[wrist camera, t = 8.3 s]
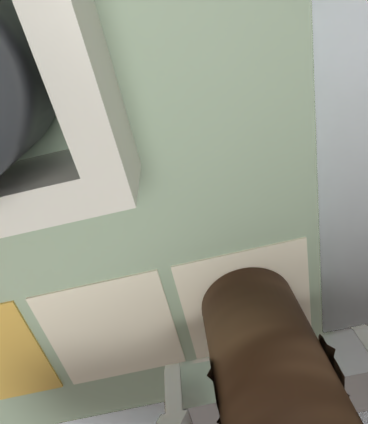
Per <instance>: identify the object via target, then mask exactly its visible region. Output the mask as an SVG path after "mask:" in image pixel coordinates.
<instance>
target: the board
mask: <svg viewBox="0 0 368 424" xmlns="http://www.w3.org/2000/svg"><path fill="white" fill-rule="evenodd" d="M94 2H95V6H96V9H97V13H98V16H99V20H100V23H101V27H102V30H103V33H104V37H105V40H106V44H107V47H108V51H109V54H110V58H111V61H112V65H113V68H114V72H115V75H116V79H117V82H118V86H119V89H120V92H121V96H122V99H123V103H124V106H125V110H126V113H127V117H128V120H129V124H130V127H131V131H132V134H133V138H134V141H135V145H136V148H137V151H138V155H139V158H140V162H141V172H140V180H139V189H138V197H137V206H136V208H133V209H129V210H125V211H120V212H116V213H111V214H107V215H102V216H98V217H93V218H89V219H85V220H80V221H76V222H71V223H67V224H62V225H58V226H53V227H49V228H45V229H40V230H36V231H31V232H27V233H22V234H18V235H13V236H9V237H4V238H0V424H57V423H62V422H67V421H72V420H77V419H82V418H87V417H92V416H97V415H102V414H107V413H111V412H116V411H121V410H126V409H131V408H136V407H141V406H146V405H151V404H156V403H161V402H165V385H164V369H165V365H170V364H175V363H180V362H186V361H191V360H197V359H203V358H208V357H209V351H208V345H207V339H206V333H205V327H204V322H203V316H202V301H203V298H204V295H205V293H206V292H207V290H208V289H209V287H210V286H211V285H212V284H213V283H214V282H215V281H216V280H218V279H219V278H220V277H222V276H224V275H225V274H227V273H229V272H232V271H235V270H238V269H242V268H249V267H258V268H265V269H269V270H272V271H274V272H276V273H278V274H279V275H281V276H282V277H283V278H284V279H285V280H286V281H287V282H288V284H289V286H290V288H291V289H292V291H293V293H294V295H295V297H296V299H297V301H298V303H299V304H300V306H301V308H302V310H303V312H304V314H305V316H306V318H307V319H308V321H309V323H310V325H311V327H312V329H313V331H314V333H315V334H316V336H317V338H318V336H319V334H321V333H323V327H322V297H321V268H320V238H319V208H318V179H317V149H316V119H315V90H314V60H313V30H312V1H311V0H94ZM65 149H69V148H68V145H67V143H66V140H65V137H64V135H63V132H62V130H61V127H60V124H59V122H58V119H57V117H56V114H55V116H54V119H53V121H52V123H51V125H50V127H49V129H48V130H47V132H46V133H45V134H44V135H43V137H42V138H41V139H40V140H39V141H38V142H37V143H36V144H34V145H33V146H32V147H31V148H30V149H29V150H28V151H27V152H26V153H25V154H23V155H22V156H21V157H20V158H19V159H18V160H22V159H27V158H31V157H35V156H39V155H44V154H48V153H52V152H57V151H61V150H65ZM18 160H17V161H18Z"/></svg>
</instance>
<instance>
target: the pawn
mask: <svg viewBox="0 0 368 424" xmlns="http://www.w3.org/2000/svg"><path fill="white" fill-rule="evenodd" d="M202 316H203V322H204V327H205V333H206V339H207V345H208V351H209V357H210V360H211V365H212V371H213V376H214V386H215V391H216V394H217V401H218V407H219V412H220V420H221V424H363V422H362V421H361V419H360V417H359V415H358V413H357V411H356V409H355V407H354V406H353V404H352V402H351V400H350V398H349V396H348V394H347V392H346V391H345V389H344V387H343V385H342V383H341V381H340V379H339V377H338V376H337V374H336V372H335V370H334V368H333V366H332V364H331V362H330V361H329V359H328V357H327V355H326V353H325V351H324V349H323V348H322V346H321V344H320V342H319V340H318V338H317V336H316V334H315V333H314V331H313V329H312V327H311V325H310V323H309V321H308V319H307V318H306V316H305V314H304V312H303V310H302V308H301V306H300V304H299V303H298V301H297V299H296V297H295V295H294V293H293V291H292V289H291V288H290V286H289V284H288V282H287V281H286V280H285V279H284V278H283V277H282V276H281V275H279V274H278V273H276V272H274V271H272V270H269V269H265V268H258V267H249V268H242V269H238V270H235V271H232V272H229V273H227V274H225V275H224V276H222V277H220V278H219V279H218V280H216V281H215V282H214V283H213V284H212V285H211V286H210V287H209V289H208V290H207V292H206V293H205V295H204V298H203V301H202Z"/></svg>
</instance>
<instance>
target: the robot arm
mask: <svg viewBox="0 0 368 424" xmlns="http://www.w3.org/2000/svg"><path fill="white" fill-rule="evenodd" d="M318 340H319V342H320V344H321V346H322V348H323V349H324V351H325V353H326V355H327V357H328V359H329V361H330V362H331V364H332V366H333V368H334V370H335V372H336V374H337V376H338V377H339V379H340V381H341V383H342V385H343V387H344V389H345V391H346V392H347V394H348V396H349V398H350V400H351V402H352V404H353V406H354V407H355V409H356V411H357V413H359V412H365V411H368V325H366V324H364V325H359V326H355V327H350V328H349V327H348V328H344V329H339V330H335V331H330V332H326V333H321V334H319V336H318ZM164 385H165V414H162V415H160V417H159V419H158V421H157V422H156V424H221V420H220V412H219V407H218V401H217V394H216V391H215V386H214V376H213V371H212V365H211V360H210V357H208V358H203V359H197V360H191V361H186V362H180V363H175V364H170V365H165V369H164Z"/></svg>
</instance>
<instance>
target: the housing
mask: <svg viewBox="0 0 368 424" xmlns="http://www.w3.org/2000/svg"><path fill="white" fill-rule="evenodd" d="M12 2H13V5H14V7H15V10H16V12H17V15H18V18H19V20H20V23H21V25H22V28H23V31H24V33H25V36H26V38H27V41H28V44H29V46H30V49H31V51H32V54H33V57H34V59H35V62H36V64H37V67H38V70H39V72H40V75H41V77H42V80H43V83H44V85H45V88H46V90H47V93H48V96H49V98H50V101H51V104H52V106H53V109H54V111H55V114H56V117H57V119H58V122H59V124H60V127H61V130H62V132H63V135H64V137H65V140H66V143H67V145H68V148H69V149H65V150H61V151H57V152H52V153H48V154H44V155H39V156H35V157H31V158H27V159H22V160H18V161H16V162H15V163H13V164H12V165H11V166H10V167H9V168H8V169H7V170H6V171H5V172H4V173H2V174H1V175H0V238H4V237H9V236H13V235H18V234H22V233H27V232H31V231H36V230H40V229H45V228H49V227H53V226H58V225H62V224H67V223H71V222H76V221H80V220H85V219H89V218H93V217H98V216H102V215H107V214H111V213H116V212H120V211H125V210H129V209H133V208H136V206H137V197H138V189H139V180H140V172H141V162H140V158H139V155H138V151H137V148H136V145H135V141H134V138H133V134H132V131H131V127H130V124H129V120H128V117H127V113H126V110H125V106H124V103H123V99H122V96H121V92H120V89H119V86H118V82H117V79H116V75H115V72H114V68H113V65H112V61H111V58H110V54H109V51H108V47H107V44H106V40H105V37H104V33H103V30H102V27H101V23H100V20H99V16H98V13H97V9H96V6H95V2H94V0H12Z"/></svg>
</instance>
